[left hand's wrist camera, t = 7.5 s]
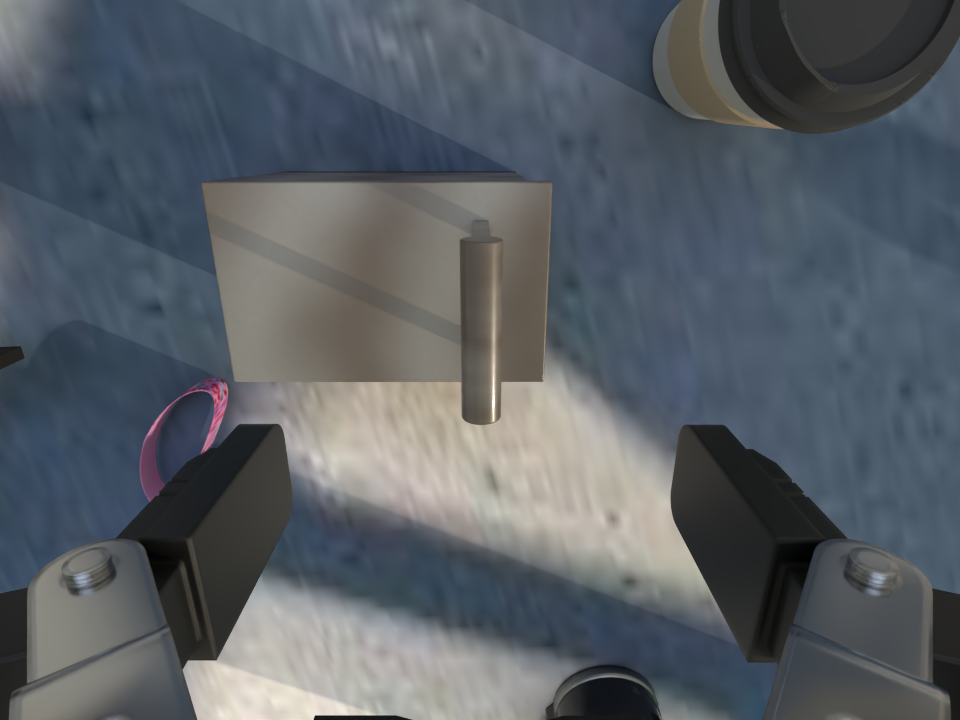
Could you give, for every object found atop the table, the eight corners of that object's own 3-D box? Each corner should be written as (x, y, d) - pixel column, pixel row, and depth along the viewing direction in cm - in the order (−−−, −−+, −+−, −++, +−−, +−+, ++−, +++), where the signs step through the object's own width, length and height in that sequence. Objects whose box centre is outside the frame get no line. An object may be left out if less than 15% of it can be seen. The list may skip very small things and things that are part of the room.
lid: (550, 180, 25) (582, 194, 17) (541, 374, 28) (565, 460, 20) (210, 180, 25) (87, 194, 17) (242, 374, 28) (151, 461, 20)
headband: (184, 361, 39) (168, 373, 37) (237, 385, 40) (225, 398, 38) (138, 477, 43) (122, 494, 41) (189, 497, 44) (175, 515, 41)
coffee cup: (729, -76, 30) (943, -270, 16) (819, 57, 33) (1074, -12, 19) (601, 54, 33) (693, -18, 19) (694, 171, 35) (839, 185, 21)
